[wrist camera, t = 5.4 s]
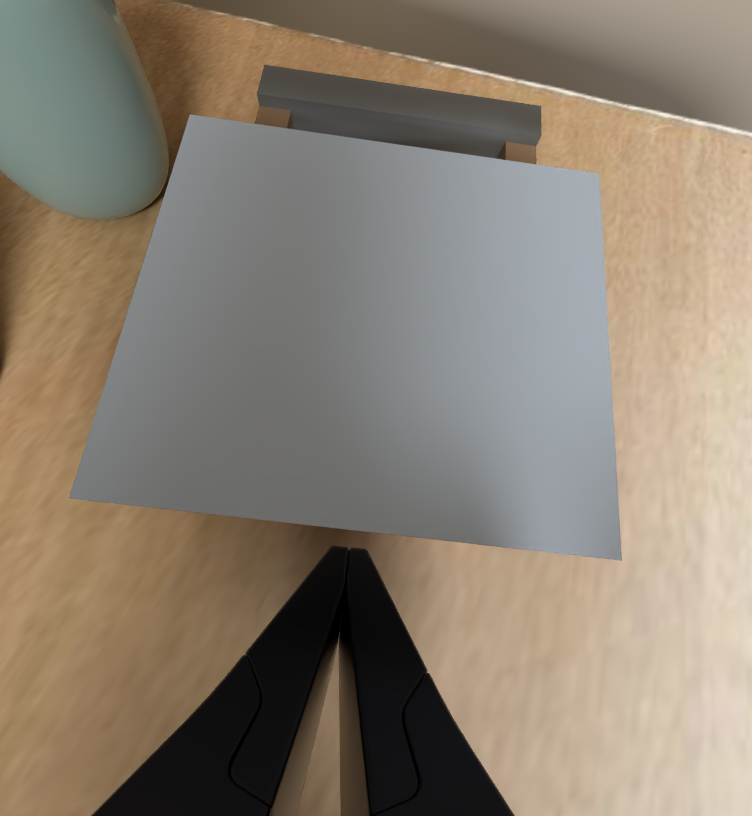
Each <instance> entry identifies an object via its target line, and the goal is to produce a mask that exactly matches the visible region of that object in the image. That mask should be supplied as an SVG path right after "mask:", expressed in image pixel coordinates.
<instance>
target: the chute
mask: <svg viewBox="0 0 752 816" xmlns="http://www.w3.org/2000/svg"><path fill="white" fill-rule="evenodd" d="M257 96H258V101H259V105H260V106H259V110H258V114H257V118H256V122H255V124H260V125H267V126H274V127H281V128H288V129H295V130H301V131H308V132H315V133H322V134H329V135H336V136H343V137H350V138H357V139H364V140H371V141H378V142H384V143H391V144H398V145H405V146H412V147H419V148H426V149H433V150H440V151H447V152H454V153H461V154H467V155H474V156H481V157H488V158H495V159H502V160H509V161H516V162H523V163H530V164H536V145H537V143H538V141H539V139H540V137H541V106H537V105H530V104H523V103H517V102H510V101H503V100H497V99H490V98H483V97H476V96H470V95H463V94H456V93H450V92H443V91H436V90H430V89H423V88H416V87H410V86H403V85H396V84H390V83H383V82H376V81H369V80H363V79H356V78H349V77H343V76H336V75H329V74H323V73H316V72H309V71H303V70H296V69H289V68H282V67H276V66H269V65H264V69H263V73H262V76H261V80H260V84H259V88H258V92H257Z"/></svg>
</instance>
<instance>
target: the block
mask: <svg viewBox="0 0 752 816" xmlns="http://www.w3.org/2000/svg"><path fill="white" fill-rule="evenodd" d="M69 498H72V499H80V500H89V501H98V502H107V503H116V504H125V505H134V506H142V507H151V508H160V509H169V510H178V511H187V512H196V513H205V514H213V515H222V516H231V517H240V518H249V519H258V520H267V521H276V522H284V523H293V524H302V525H311V526H320V527H329V528H338V529H346V530H355V531H364V532H373V533H382V534H391V535H400V536H409V537H417V538H426V539H435V540H444V541H453V542H462V543H471V544H479V545H488V546H497V547H506V548H515V549H524V550H533V551H542V552H550V553H559V554H568V555H577V556H586V557H595V558H604V559H613V560H621V561H622V555H621V538H620V521H619V504H618V487H617V471H616V454H615V437H614V420H613V403H612V386H611V369H610V352H609V335H608V318H607V301H606V284H605V267H604V250H603V233H602V216H601V199H600V182H599V173H592V172H585V171H578V170H571V169H564V168H557V167H550V166H543V165H537V164H530V163H523V162H516V161H509V160H502V159H495V158H488V157H481V156H474V155H467V154H461V153H454V152H447V151H440V150H433V149H426V148H419V147H412V146H405V145H398V144H391V143H384V142H378V141H371V140H364V139H357V138H350V137H343V136H336V135H329V134H322V133H315V132H308V131H301V130H295V129H288V128H281V127H274V126H267V125H260V124H253V123H246V122H239V121H232V120H225V119H218V118H212V117H205V116H198V115H191V114H190V116H189V119H188V122H187V125H186V129H185V132H184V135H183V138H182V141H181V144H180V148H179V151H178V154H177V157H176V160H175V164H174V167H173V170H172V173H171V176H170V179H169V183H168V186H167V189H166V192H165V195H164V198H163V202H162V205H161V208H160V211H159V214H158V217H157V221H156V224H155V227H154V230H153V233H152V236H151V240H150V243H149V246H148V249H147V252H146V255H145V259H144V262H143V265H142V268H141V271H140V274H139V278H138V281H137V284H136V287H135V290H134V293H133V297H132V300H131V303H130V306H129V309H128V313H127V316H126V319H125V322H124V325H123V328H122V332H121V335H120V338H119V341H118V344H117V347H116V351H115V354H114V357H113V360H112V363H111V366H110V370H109V373H108V376H107V379H106V382H105V385H104V389H103V392H102V395H101V398H100V401H99V404H98V408H97V411H96V414H95V417H94V420H93V423H92V427H91V430H90V433H89V436H88V439H87V443H86V446H85V449H84V452H83V455H82V458H81V462H80V465H79V468H78V471H77V474H76V477H75V481H74V484H73V487H72V490H71V493H70V496H69Z"/></svg>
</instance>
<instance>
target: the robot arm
mask: <svg viewBox="0 0 752 816" xmlns="http://www.w3.org/2000/svg"><path fill="white" fill-rule="evenodd" d="M348 554H349V556H348ZM341 615H342V616H341ZM340 624H341V625H340ZM339 632H340V635H339ZM338 639H339V712H340V796H341V816H515V815H514V814H513V812H512V811H511V809H510V808H509V806H508V804H507V803H506V801H505V800H504V798H503V797H502V795H501V794H500V792H499V790H498V789H497V787H496V786H495V784H494V783H493V781H492V780H491V778H490V776H489V775H488V773H487V772H486V770H485V769H484V767H483V766H482V764H481V762H480V761H479V759H478V758H477V756H476V755H475V753H474V752H473V750H472V748H471V747H470V745H469V743H468V742H467V740H466V739H465V737H464V735H463V734H462V732H461V730H460V729H459V727H458V725H457V724H456V722H455V721H454V719H453V717H452V715H451V713H450V712H449V710H448V708H447V706H446V704H445V702H444V701H443V699H442V697H441V695H440V693H439V691H438V689H437V687H436V685H435V683H434V681H433V679H432V677H431V675H430V674H429V673H427V668H426V666H425V664H424V662H423V660H422V658H421V656H420V654H419V652H418V650H417V648H416V646H415V644H414V642H413V640H412V639H411V637H410V635H409V633H408V631H407V629H406V627H405V625H404V623H403V621H402V619H401V617H400V615H399V613H398V611H397V609H396V607H395V605H394V603H393V601H392V599H391V597H390V595H389V593H388V591H387V589H386V587H385V585H384V583H383V581H382V579H381V577H380V575H379V573H378V571H377V569H376V567H375V565H374V563H373V561H372V559H371V557H370V555H369V553H368V551H367V550H366V549H361V548H350V550H349V549H348V548H347V547H342V546H332V547H331V548H330V549H329V550H328V551H327V552H326V554H325V555H324V556H323V557H322V559H321V560H320V561H319V562H318V564H317V565H316V566H315V567H314V569H313V570H312V571H311V572H310V574H309V575H308V576H307V577H306V579H305V580H304V581H303V582H302V583H301V585H300V586H299V587H298V588H297V590H296V591H295V592H294V593H293V595H292V596H291V597H290V598H289V600H288V601H287V602H286V603H285V605H284V606H283V607H282V608H281V610H280V611H279V612H278V613H277V615H276V616H275V617H274V618H273V619H272V621H271V622H270V623H269V624H268V626H267V627H266V628H265V629H264V631H263V632H262V633H261V634H260V636H259V637H258V638H257V639H256V641H255V642H254V643H253V644H252V646H251V647H250V648H249V649H248V650H247V652H246V655H243V656H242V657H241V658H240V660H239V661H238V662H237V663H236V665H235V666H234V667H233V668H232V670H231V671H230V672H229V673H228V674H227V676H226V677H225V678H224V679H223V680H222V681H221V683H220V684H219V685H218V686H217V687H216V688H215V690H214V691H213V692H212V693H211V694H210V695H209V696H208V698H207V699H206V700H205V701H204V702H203V703H202V704H201V705H200V706H199V707H198V708H197V709H196V710H195V711H194V712H193V713H192V714H191V715H190V716H189V718H188V719H187V720H186V721H185V722H184V723H183V724H182V725H181V726H180V727H179V728H178V729H177V730H176V731H175V732H174V733H173V734H172V735H171V736H170V737H169V738H168V739H167V740H166V741H165V742H164V743H163V744H162V745H161V746H160V747H159V748H158V749H157V750H156V751H155V752H154V753H153V754H152V755H151V756H150V757H149V758H148V759H147V760H146V761H145V762H144V763H143V764H142V765H141V766H140V767H139V768H138V769H137V770H136V771H135V772H134V773H133V774H132V775H131V776H130V777H129V778H128V779H127V780H126V781H125V782H124V783H123V784H122V785H121V786H120V787H119V788H118V789H117V790H116V791H115V792H114V793H113V794H112V795H111V796H110V797H109V798H108V799H107V800H106V801H105V802H104V803H103V804H102V805H101V806H100V807H99V808H98V809H97V810H96V811H95V812H94V813H93V814H92V815H91V816H297V811H298V807H299V803H300V799H301V795H302V791H303V787H304V782H305V778H306V774H307V770H308V766H309V762H310V757H311V753H312V749H313V745H314V741H315V737H316V733H317V728H318V724H319V720H320V716H321V712H322V708H323V703H324V699H325V695H326V691H327V687H328V683H329V679H330V674H331V670H332V666H333V662H334V658H335V654H336V649H337V644H338Z"/></svg>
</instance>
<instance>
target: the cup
mask: <svg viewBox="0 0 752 816" xmlns="http://www.w3.org/2000/svg"><path fill="white" fill-rule="evenodd" d="M168 171H169V148H168V142H167V136H166V132H165V127H164V123H163V120H162V116H161V113H160V110H159V107H158V104H157V101H156V98H155V96H154V93H153V90H152V87H151V85H150V82H149V80H148V77H147V75H146V72H145V70H144V67H143V65H142V62H141V60H140V58H139V55H138V53H137V50H136V48H135V46H134V43H133V41H132V39H131V36H130V34H129V31H128V29H127V27H126V25H125V22H124V20H123V18H122V15H121V13H120V11H119V8H118V6H117V4H116V2H115V0H0V172H1V173H2V174H3V175H5V176H6V177H7V178H8V179H9V180H11V181H12V182H13V183H14V184H16V185H17V186H18V187H19V188H21V189H22V190H24V191H25V192H26V193H28V194H29V195H31V196H32V197H34V198H35V199H37V200H38V201H40V202H41V203H43V204H45V205H46V206H48V207H50V208H52V209H54V210H56V211H57V212H60V213H63V214H66V215H69V216H72V217H75V218H79V219H86V220H111V219H117V218H122V217H125V216H129V215H132V214H134V213H136V212H138V211H140V210H142V209H144V208H145V207H147V206H148V205H150V204H151V203H152V202H153V201H154V200H155V199H156V198H157V197H158V196H159V194H160V192H161V191H162V189H163V187H164V186H165V183H166V180H167V177H168Z"/></svg>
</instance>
